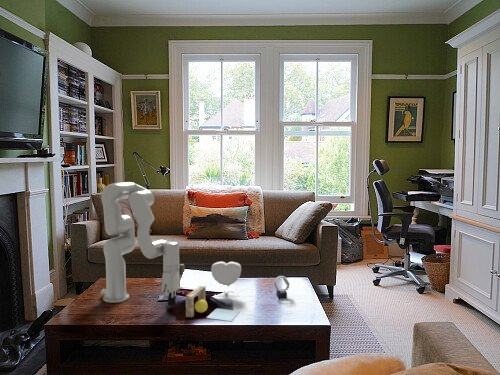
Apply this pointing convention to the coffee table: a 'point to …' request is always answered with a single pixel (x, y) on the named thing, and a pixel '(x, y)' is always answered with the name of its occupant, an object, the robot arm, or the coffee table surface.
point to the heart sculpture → (226, 275)
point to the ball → (201, 306)
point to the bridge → (190, 299)
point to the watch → (281, 293)
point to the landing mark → (223, 314)
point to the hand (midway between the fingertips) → (171, 304)
